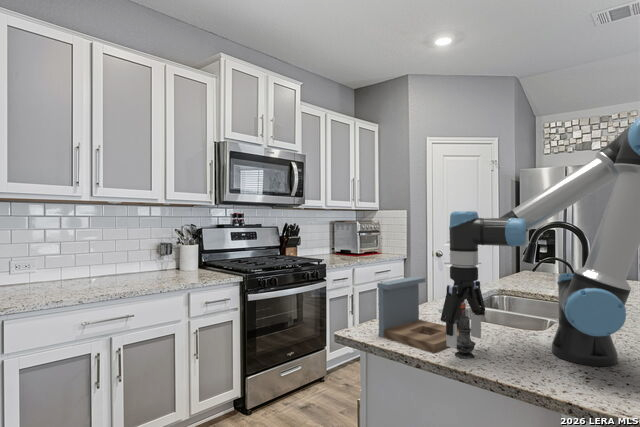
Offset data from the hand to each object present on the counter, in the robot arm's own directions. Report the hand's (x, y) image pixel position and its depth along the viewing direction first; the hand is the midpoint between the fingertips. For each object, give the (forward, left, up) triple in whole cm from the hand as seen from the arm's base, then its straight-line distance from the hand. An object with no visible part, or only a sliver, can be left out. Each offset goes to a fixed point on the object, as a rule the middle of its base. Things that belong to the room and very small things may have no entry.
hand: (464, 341), depth 110 cm
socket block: (+16, -5, -4) cm, 17 cm away
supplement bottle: (+16, -23, -4) cm, 28 cm away
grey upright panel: (+25, -5, -4) cm, 26 cm away
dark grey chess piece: (0, 0, -4) cm, 4 cm away
